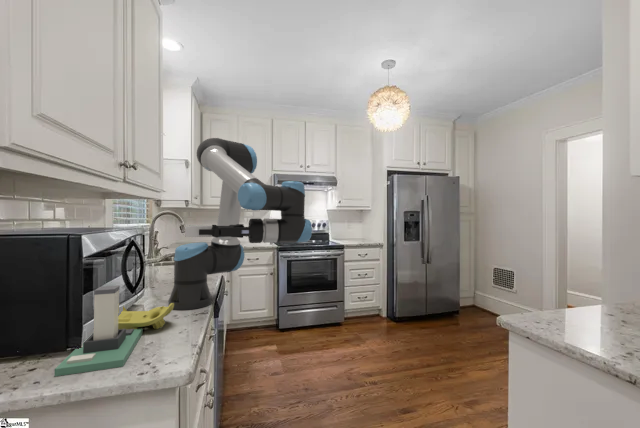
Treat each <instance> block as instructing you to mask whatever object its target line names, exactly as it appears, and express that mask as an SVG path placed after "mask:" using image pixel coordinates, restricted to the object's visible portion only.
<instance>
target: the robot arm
mask: <svg viewBox="0 0 640 428" xmlns="http://www.w3.org/2000/svg"><path fill="white" fill-rule="evenodd" d="M196 159H197V161H198V163H199V165H201V167H203V168H204V169H205V171H208V172H212V173H213V174H215V175H216V176H217V177H218V178H219V179H220V180H221V181H222V183H221V191H220V199H219V207H218V215H217V224H212V225H203V224H202V225H200V224H199V225H198V224H197V225H191V224H190V225H188V226H185V227H184V238H211V239H210V241H211V242H210V245H209V244H208V242H203V241H200V242H191V243H185V244H182V245H179V246H177V247H176V248H175V250H174V258H173V261H174V264H173V267H174V270H173V274H174V275H173V281H174V282H173V288H172V290H171V293H170V295H169V299H168V306H169V305H170V304H171V303H174V308H173V310H175V311H176V310H177V311H187V310H195V309H201V308H204V307H207V306H209V305H210V304H212V294H211V292H210V288H209V285H208V275H209V276H210V275H215V274H222V273H223V274H224V273H231V272H235V271H237V270H238V269H240V268H241V267H242V266H243V264H244V261H245V254H246V253H245V248H244V247H243V246H242V244H241V241H240V240H239V239H241V238H244V237H248V242H249V243H250V244H261V243H264V244H268V243H269V245H273V244H274V243H275V244H276V243H278V244H279V243H281V244H282V243H292V244H293V243H297V244H298V243H307V242H309V241H310V239H311V237H312V233H313V226H312V222H311V220H309V219H307V218H305V217H306V216H305V201H306V199H305V197H306V194H305V193H306V192H305V191H306V190H305V184H304V183H303V182H301V181H296V180H295V181H292V180H290V181H288V180H287V181H286V180H285V181H283V182H281V186H279V185H270V184H265V183H264V182H263V181H262V180H261V179H259V178H257V177H256V176H255V175H253V173H254V172H255V171H256V169H257V166H258V157H257V153H256V151H255V150H254V148H253V147H252V146H250V145H249V144H245V143H241V142H236V141H233V140H227V139H222V138H219V137H211V138H207V139H205V140H203V141H202V142H200V143H199V145H198V147H197V149H196ZM242 208H243V209H244V210H251V211H276V212H277V211H278V212H280V216H281V217H280V218H264V219H262V218H250V219H249V221H248V226H245V225H244V224H243V223H240V222H241V221H240V220H241V211H242ZM212 237H213V238H212ZM168 306H167V307H168Z"/></svg>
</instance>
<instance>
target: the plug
mask: <svg viewBox="0 0 640 428" xmlns="http://www.w3.org/2000/svg"><path fill="white" fill-rule="evenodd" d="M93 300H94V302H93V303H94V304H93V305H94V306H93V333H94V335H93V341H94V340H102V339H111V338H116V337H117V336H118V313H119V304H120V285H109V286H108V285H107V286H99V287H98V288H96V289H94V299H93Z"/></svg>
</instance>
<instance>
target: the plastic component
mask: <svg viewBox="0 0 640 428" xmlns="http://www.w3.org/2000/svg"><path fill="white" fill-rule="evenodd" d="M173 308H174V303H171V304H170V305H169V306H164V305H163V306H156V307H154V308H151V309H150V310H135V311H134V310H133V311H132V310H127V309H126V308H125V306H124V305H123V311H122V312H121V314H120V315H119V316H118V329H126V330H127V329H139V328H143V327H148V326H152V328H153V329H154V330H158V329H160V328H163V327H164V325H165V324H166V321H165V319H164V318H165V317H167V316H168V315H169V314H170V313H171V312H172V311H173V310H174V309H173Z"/></svg>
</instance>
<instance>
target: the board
mask: <svg viewBox="0 0 640 428" xmlns="http://www.w3.org/2000/svg"><path fill="white" fill-rule="evenodd" d="M143 330H144V329H143V327H140V328H137V329H127V330H126V329H118V336H117V337H116V338H111V339H102V340H94V341H93V335H94V332H93V333H91V334H92V335H91V334H90V335H91V336H90V335H89V336H90V337H89V336H88V337H89V338H88V337H87V338H88V339H87V338H86V339H87V340H86V339H85V340H86V341H85V340H84V341H85V342H84V341H83V342H84V343H83V347H82V348H79V349H76V348H75V349H74V350H73V351H72V352H71V353H69V355H68V356H67V357H66V358H64V360H62V361H61V362H60V363H59V364H58V365H57V366H56V367H55V368H54V377H60V376H61V375H62V376H67V375H74V374H81V373H88V372H96V371H101V370H102V371H103V370H108V369H109V370H110V369H115V368H122V367H124V366H125V364H126V363H127V361H128V359H129V357H130V355H132V353H133V350H134V349H135V347H136V346H137V343H138V342H139V341H140V339H141V337H142V335H143V333H144V332H143Z"/></svg>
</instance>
